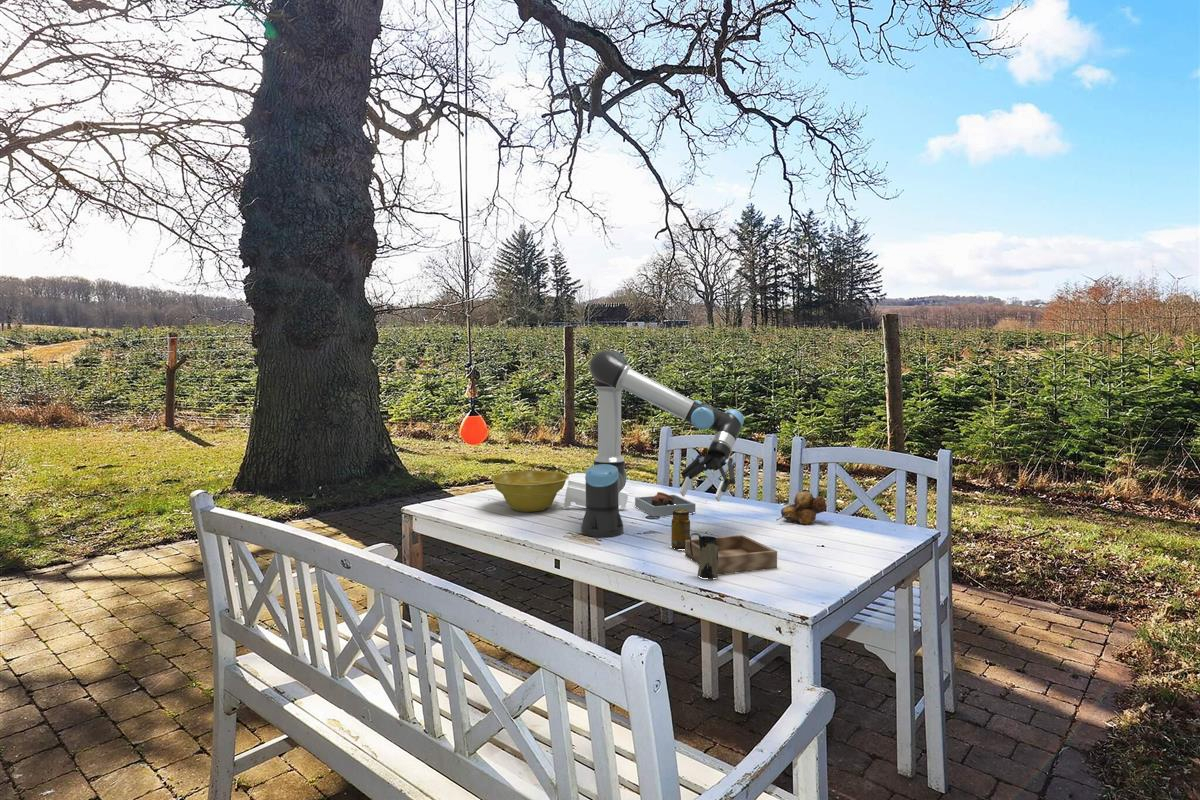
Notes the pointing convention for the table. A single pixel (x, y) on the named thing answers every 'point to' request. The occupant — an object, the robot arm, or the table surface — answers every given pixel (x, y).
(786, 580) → the table surface
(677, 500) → the slate tray rim
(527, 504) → the planter bowl
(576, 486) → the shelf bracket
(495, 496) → the table surface
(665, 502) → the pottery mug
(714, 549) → the mug
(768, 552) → the walnut box
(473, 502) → the table surface
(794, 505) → the seed pod
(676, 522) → the condiment
